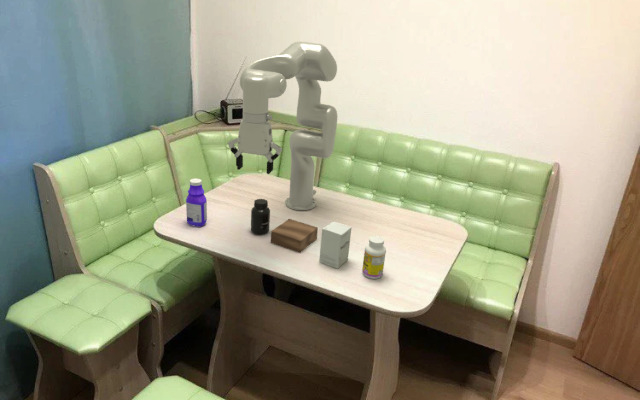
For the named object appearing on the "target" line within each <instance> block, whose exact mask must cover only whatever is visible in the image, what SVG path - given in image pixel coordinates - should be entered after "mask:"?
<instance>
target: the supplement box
mask: <svg viewBox="0 0 640 400" xmlns="http://www.w3.org/2000/svg"><path fill="white" fill-rule="evenodd" d="M352 228H353V227H351V226H349V225H346V224H343V223H340V222H336V221H331V222H330V223H328V224H327V225H325V226H324V227H322V228H321V237H320V239H321V240H320V248H319V258H318V259H319V260H318V262H320V263H322V264H324V265H327V266H329V267H331V268H332V267H333V268H335V269H338V268H340V267H341V266H342V265H343V264H344V263H346V262H347V261H348V260H349V252H350V243H351V236H352V235H351V234H352Z"/></svg>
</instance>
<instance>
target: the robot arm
mask: <svg viewBox="0 0 640 400" xmlns="http://www.w3.org/2000/svg"><path fill="white" fill-rule="evenodd" d="M337 65H338V64H337V61H336V59H335V58H334V56H333V55H332V53H331V52H330V49H328V47H326V46H325V45H323V44H321V43H315V42H306V41H295V42H293V43H290V45H289V46H287V48H285V49H284V50H283V51H282V52H280V54H278V55H273V56H269V57H265V58H261V59H258V60H255V61H253V62H252V63H250V64H248V66H246V67H245V69H243V71H242V72H241V75H240V77H239V87H240V89H241V90H242V119H241V120H240V124H239V129H238V133H237V135H238V136H237V137H236V138H234V139H231V140H229V141H228V142H227V146H228V147H229V149H230V152H231V153H232V154H233V155H234V157H235V166H236V169H237V170H241V169H242V168H243V167H244V159H243V158H244V156H243V153H244V154H249V155H250V154H251V155H257V156H263V157H265V159H266V160H267V162H266V174H267V175H270V174H271V172H273V171H274V161H275V160H277V158H278V157H279V156H280V154H281V153H282V151H283V147H281V146H280V145H278V144H276V143H275V142H274V141H273V130H272V129H273V128H272V124H271V121H272V120H273V115H272V114H270V112H269V99H272V98H279V97H282V95H284V93H285V92H286V89H287V80H290V79H293V78H295V79H296V82H297V85H298V98H297V107H296V122H297V124H298V125H299V126H302V127H306V128H312V129H317V130H321V132H317V131H314V130H313V131H312V130H306V129H296V130H294V131H292V133H291V134H290V136H289V150H290V177H289V178H290V179H289V194H288V195H289V196H288V198H286V199H285V201H284V202H285V206H286V207H287V208H289V209H291V210H295V211H310V210H312V209H314V208H315V207H316V206H317V205H316V204H317V203H316V202H317V201H316V200H315V199H314V198H313V196H315V195H316V194H317V190H316V189H314V180H315V179H314V178H315V162H314V161H315V160H314V159H313V157H315V158H319V159H328V158H330V157H331V156H332V155H333V152H334V148H335V141H336V134H337V133H336V132H337V125H338V111H337V109H336V108H335V106H332V105H330V104H323V103H321V96H322V88H321V86H320V83H319V81H320V82H327V83H328V82H332V81H333V80H334V79H335V78H336V76H337V73H338V66H337ZM235 144H237V147H236V146H235ZM273 150H275V153H274V154H273V152H272V151H273Z"/></svg>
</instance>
